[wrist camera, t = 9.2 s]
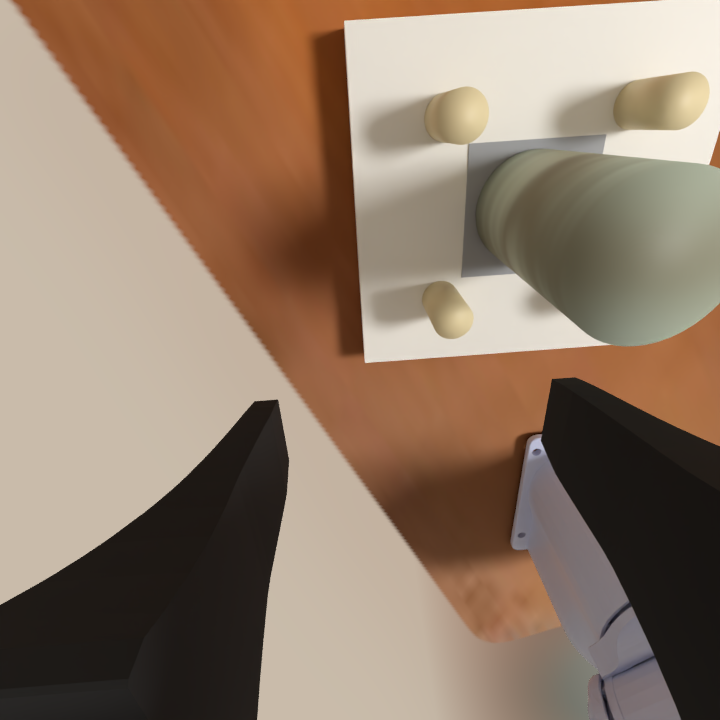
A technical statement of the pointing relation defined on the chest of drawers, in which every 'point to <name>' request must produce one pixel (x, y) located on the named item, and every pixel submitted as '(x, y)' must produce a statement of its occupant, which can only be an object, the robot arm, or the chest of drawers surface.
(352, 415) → the chest of drawers surface
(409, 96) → the base plate
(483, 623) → the chest of drawers surface
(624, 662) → the robot arm
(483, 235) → the peg
